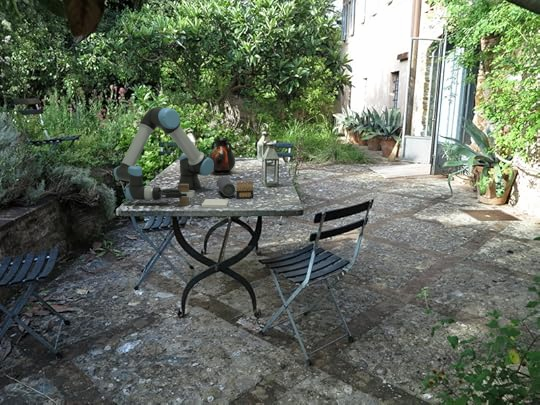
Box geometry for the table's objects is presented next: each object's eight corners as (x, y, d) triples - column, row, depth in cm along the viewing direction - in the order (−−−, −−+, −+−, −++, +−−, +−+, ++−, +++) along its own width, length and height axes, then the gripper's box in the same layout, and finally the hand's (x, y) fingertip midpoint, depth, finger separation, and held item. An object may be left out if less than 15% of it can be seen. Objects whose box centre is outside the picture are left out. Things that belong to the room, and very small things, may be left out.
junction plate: (205, 201, 273) (205, 199, 273) (228, 201, 273) (228, 199, 273) (201, 207, 260) (201, 204, 259) (226, 207, 259) (226, 205, 259)
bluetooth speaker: (215, 191, 302) (215, 176, 300) (229, 190, 304) (229, 175, 302) (221, 198, 281) (221, 182, 278) (236, 198, 283) (236, 182, 281)
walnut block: (181, 203, 268) (180, 183, 265) (189, 203, 268) (188, 183, 265) (179, 205, 264) (178, 185, 261) (188, 205, 264) (187, 185, 261)
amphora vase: (202, 174, 360) (201, 138, 353) (220, 170, 377) (220, 136, 370) (223, 177, 348) (222, 140, 341) (241, 173, 365) (240, 138, 358)
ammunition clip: (236, 199, 280) (236, 180, 277) (236, 198, 282) (235, 179, 279) (253, 198, 282) (253, 179, 279) (253, 197, 283) (253, 178, 281)
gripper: (157, 196, 274) (196, 196, 273) (149, 203, 257) (190, 203, 257) (156, 184, 272) (195, 184, 271) (148, 190, 255) (190, 190, 255)
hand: (193, 193), depth 264 cm, fingers closed on walnut block, 4 cm apart
